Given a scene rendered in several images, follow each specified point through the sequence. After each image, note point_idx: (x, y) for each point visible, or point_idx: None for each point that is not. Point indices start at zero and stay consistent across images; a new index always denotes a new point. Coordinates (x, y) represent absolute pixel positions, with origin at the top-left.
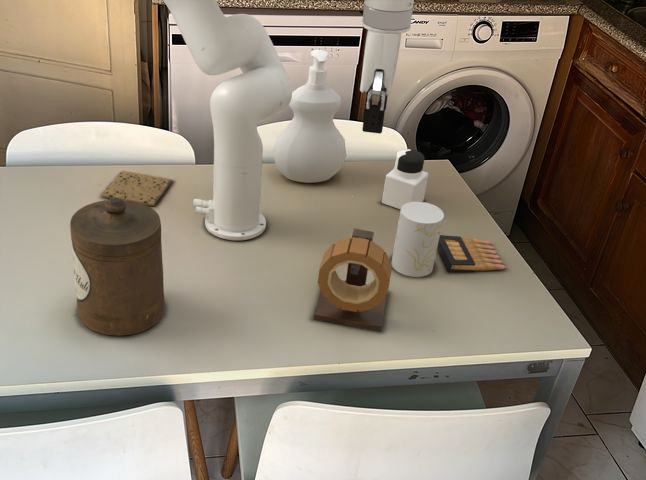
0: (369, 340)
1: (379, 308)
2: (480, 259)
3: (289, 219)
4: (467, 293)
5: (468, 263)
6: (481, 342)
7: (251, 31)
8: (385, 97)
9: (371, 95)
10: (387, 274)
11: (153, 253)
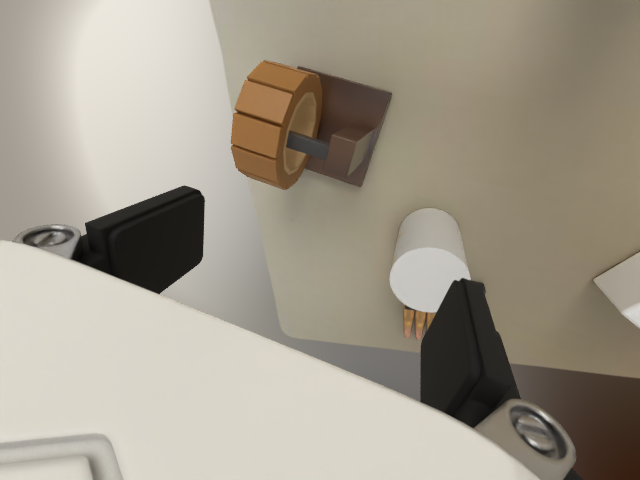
0: None
1: (315, 165)
2: (417, 318)
3: None
4: (361, 278)
5: None
6: (278, 259)
7: None
8: (421, 395)
9: (459, 339)
10: (246, 175)
11: None
